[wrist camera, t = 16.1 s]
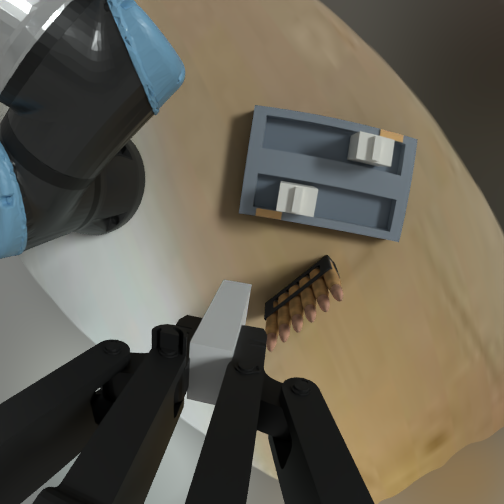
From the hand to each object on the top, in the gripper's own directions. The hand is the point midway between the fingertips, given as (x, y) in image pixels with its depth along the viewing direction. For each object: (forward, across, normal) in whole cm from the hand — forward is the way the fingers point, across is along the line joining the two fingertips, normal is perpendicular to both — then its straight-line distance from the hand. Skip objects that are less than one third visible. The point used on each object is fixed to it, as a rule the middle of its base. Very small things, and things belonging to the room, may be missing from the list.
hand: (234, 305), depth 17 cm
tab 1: (+23, +3, +4) cm, 24 cm away
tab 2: (+23, +11, +11) cm, 28 cm away
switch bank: (+24, +7, +8) cm, 27 cm away
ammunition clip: (+25, +6, -7) cm, 26 cm away
